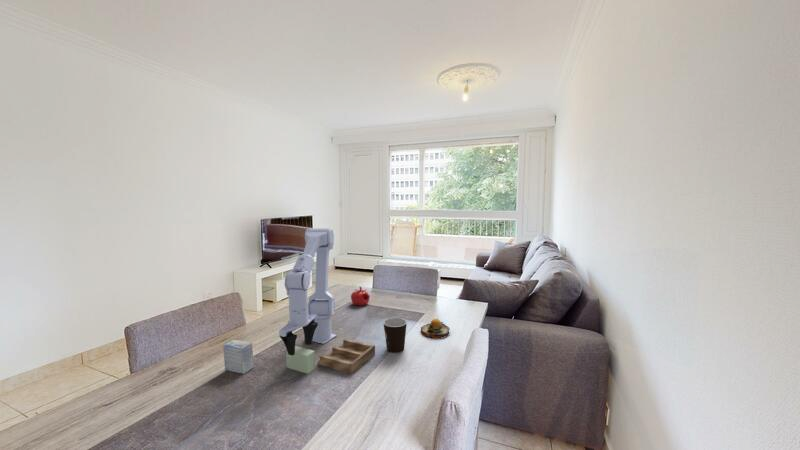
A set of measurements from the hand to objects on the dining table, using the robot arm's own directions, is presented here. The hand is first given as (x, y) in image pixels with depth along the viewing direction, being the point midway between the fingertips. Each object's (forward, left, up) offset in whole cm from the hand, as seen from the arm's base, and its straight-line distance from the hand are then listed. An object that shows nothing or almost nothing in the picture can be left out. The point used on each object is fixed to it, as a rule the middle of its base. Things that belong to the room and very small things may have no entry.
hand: (300, 349), depth 99 cm
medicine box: (-18, -9, -7) cm, 21 cm away
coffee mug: (+22, +26, -7) cm, 35 cm away
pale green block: (0, 0, -7) cm, 7 cm away
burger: (+31, +44, -7) cm, 54 cm away
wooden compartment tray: (+10, +11, -6) cm, 17 cm away
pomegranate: (-17, +61, -7) cm, 64 cm away
